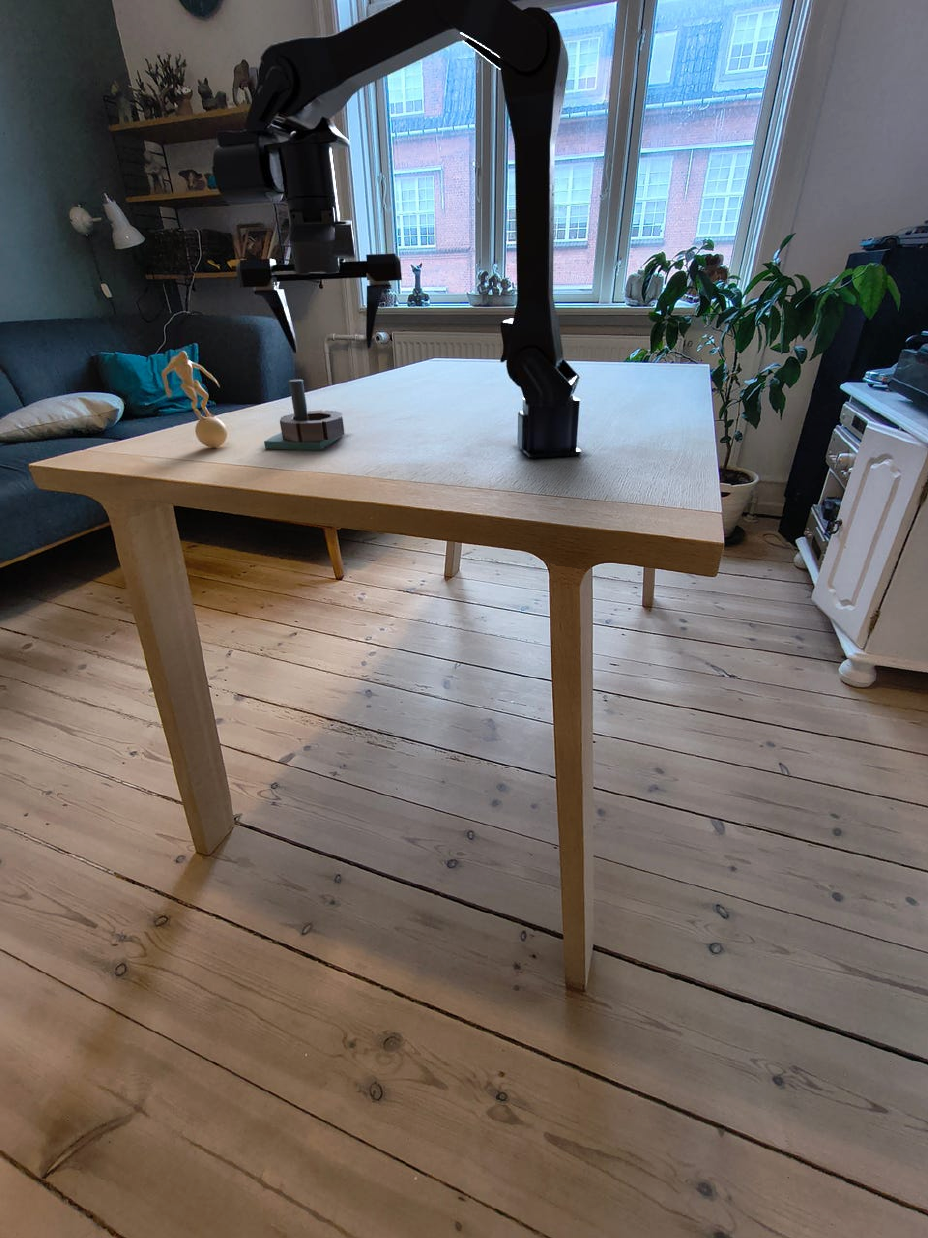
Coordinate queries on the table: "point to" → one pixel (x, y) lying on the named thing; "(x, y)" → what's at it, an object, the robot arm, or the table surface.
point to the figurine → (208, 427)
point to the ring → (313, 427)
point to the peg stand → (300, 415)
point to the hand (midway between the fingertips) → (332, 350)
